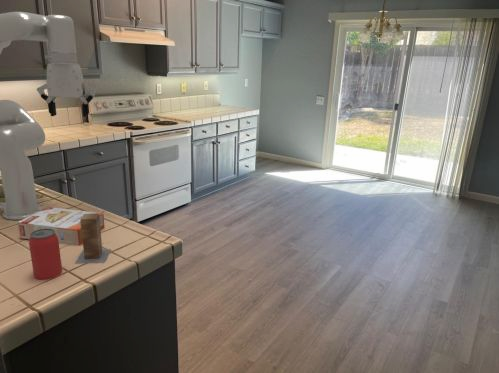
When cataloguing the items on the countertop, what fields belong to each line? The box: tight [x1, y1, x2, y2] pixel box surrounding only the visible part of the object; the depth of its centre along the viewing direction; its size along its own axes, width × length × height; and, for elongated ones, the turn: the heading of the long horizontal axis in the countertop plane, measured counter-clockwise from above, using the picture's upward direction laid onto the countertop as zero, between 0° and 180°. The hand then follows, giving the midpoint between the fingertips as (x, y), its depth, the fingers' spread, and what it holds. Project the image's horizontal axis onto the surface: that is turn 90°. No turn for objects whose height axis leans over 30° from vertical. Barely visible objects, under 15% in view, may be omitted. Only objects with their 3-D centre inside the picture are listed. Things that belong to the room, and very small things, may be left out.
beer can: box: [28, 228, 63, 281], centre depth 98 cm, size 7×7×12 cm
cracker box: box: [17, 206, 106, 246], centre depth 122 cm, size 14×6×21 cm
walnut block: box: [80, 212, 103, 259], centre depth 107 cm, size 4×4×12 cm
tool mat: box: [74, 248, 112, 265], centre depth 108 cm, size 8×8×1 cm
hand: (69, 116), depth 121 cm, fingers open, 9 cm apart
